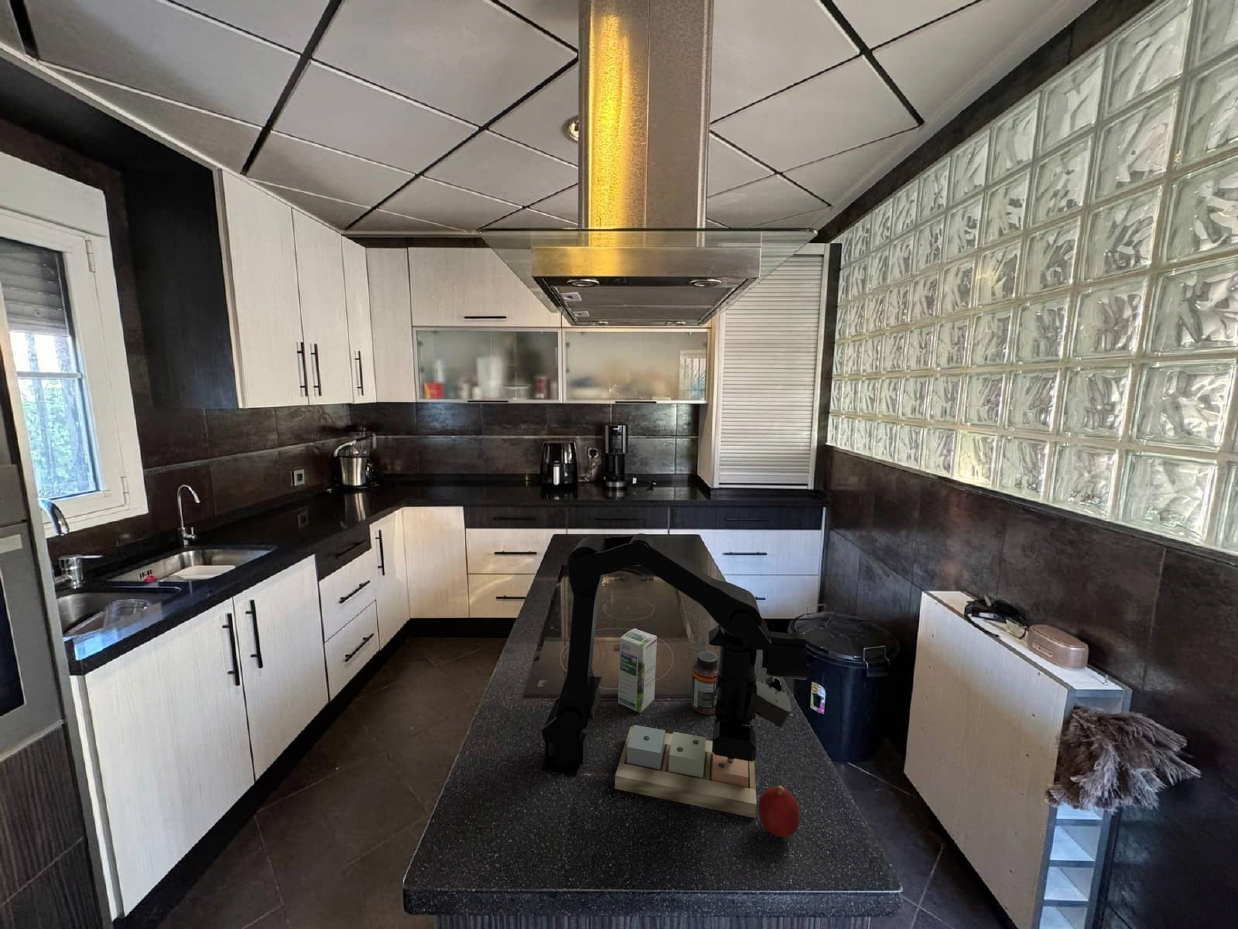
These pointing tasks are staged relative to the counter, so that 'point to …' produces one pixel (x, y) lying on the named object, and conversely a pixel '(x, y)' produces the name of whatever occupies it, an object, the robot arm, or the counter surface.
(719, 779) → the tile three pip
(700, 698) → the supplement bottle
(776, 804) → the onion
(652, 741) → the single dot cube
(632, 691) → the syrup box
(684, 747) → the tile two pip
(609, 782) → the counter surface
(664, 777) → the tile tray
